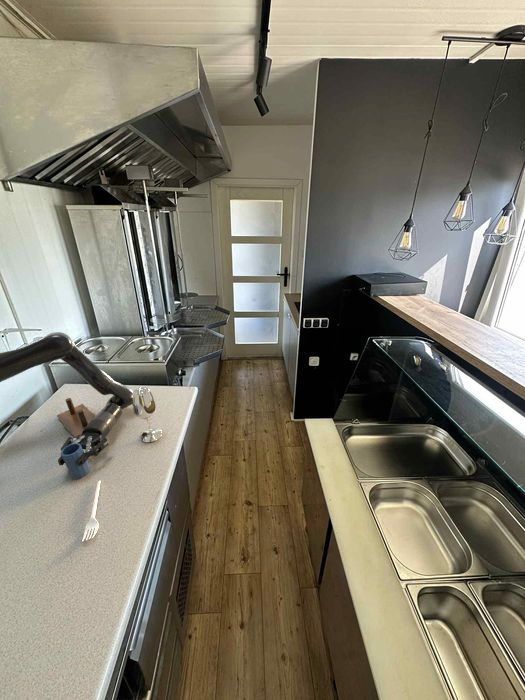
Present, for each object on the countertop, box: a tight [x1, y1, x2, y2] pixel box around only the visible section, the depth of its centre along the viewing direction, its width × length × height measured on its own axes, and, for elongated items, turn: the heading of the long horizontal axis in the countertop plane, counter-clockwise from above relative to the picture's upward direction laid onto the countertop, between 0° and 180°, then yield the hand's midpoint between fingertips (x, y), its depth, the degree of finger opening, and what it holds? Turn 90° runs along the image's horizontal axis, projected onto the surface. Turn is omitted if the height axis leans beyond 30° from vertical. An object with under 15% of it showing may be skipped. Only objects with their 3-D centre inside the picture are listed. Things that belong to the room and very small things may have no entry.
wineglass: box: [132, 386, 163, 443], centre depth 104 cm, size 8×8×20 cm
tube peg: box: [60, 443, 91, 480], centre depth 91 cm, size 5×5×10 cm
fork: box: [81, 479, 102, 543], centre depth 81 cm, size 3×20×2 cm, turn 20°
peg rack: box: [56, 397, 96, 438], centre depth 114 cm, size 10×20×8 cm, turn 50°
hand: (69, 463), depth 88 cm, fingers closed on tube peg, 5 cm apart
